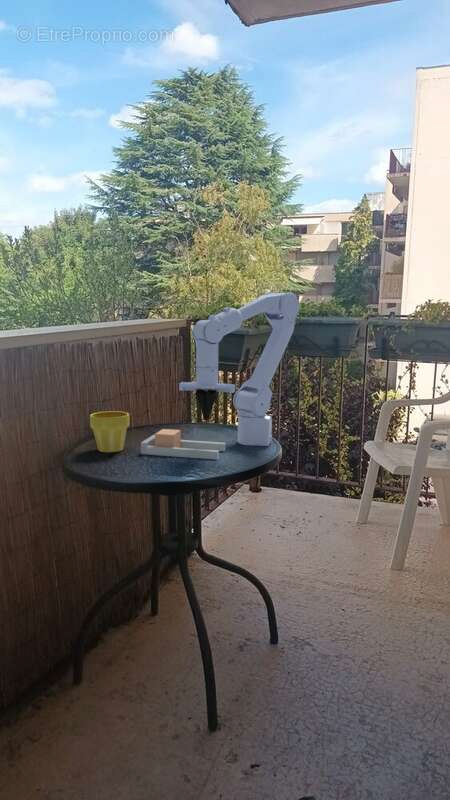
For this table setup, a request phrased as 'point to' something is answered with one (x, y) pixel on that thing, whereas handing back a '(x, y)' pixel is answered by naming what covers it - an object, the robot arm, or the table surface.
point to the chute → (184, 449)
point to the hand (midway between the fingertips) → (206, 418)
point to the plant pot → (109, 429)
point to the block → (168, 438)
